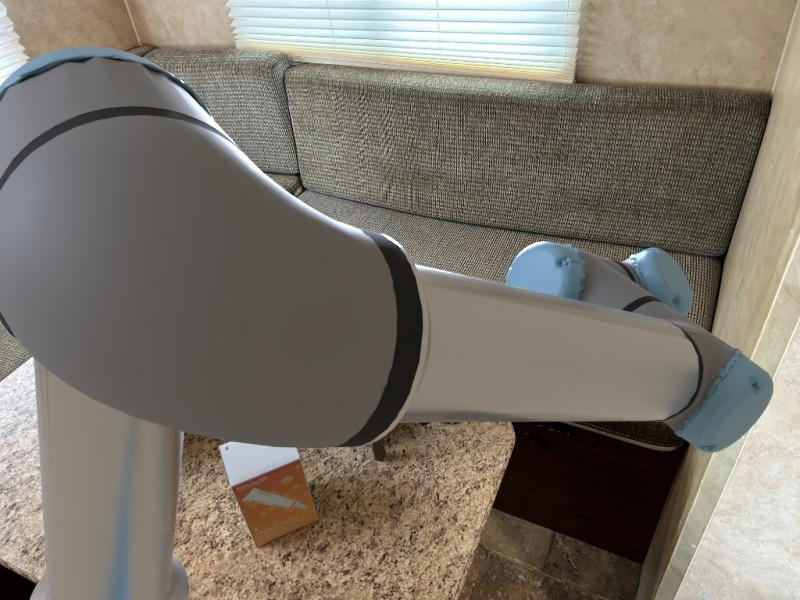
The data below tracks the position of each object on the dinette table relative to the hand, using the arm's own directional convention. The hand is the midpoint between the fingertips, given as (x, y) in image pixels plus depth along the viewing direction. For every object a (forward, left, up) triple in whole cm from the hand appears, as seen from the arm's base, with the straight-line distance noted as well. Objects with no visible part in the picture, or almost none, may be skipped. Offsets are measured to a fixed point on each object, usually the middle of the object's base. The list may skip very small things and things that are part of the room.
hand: (420, 409), depth 84 cm
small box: (-19, -13, -3) cm, 23 cm away
